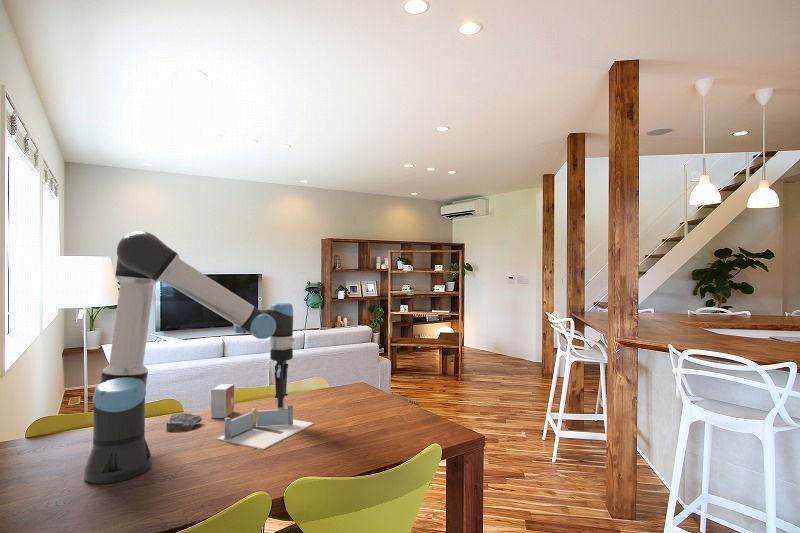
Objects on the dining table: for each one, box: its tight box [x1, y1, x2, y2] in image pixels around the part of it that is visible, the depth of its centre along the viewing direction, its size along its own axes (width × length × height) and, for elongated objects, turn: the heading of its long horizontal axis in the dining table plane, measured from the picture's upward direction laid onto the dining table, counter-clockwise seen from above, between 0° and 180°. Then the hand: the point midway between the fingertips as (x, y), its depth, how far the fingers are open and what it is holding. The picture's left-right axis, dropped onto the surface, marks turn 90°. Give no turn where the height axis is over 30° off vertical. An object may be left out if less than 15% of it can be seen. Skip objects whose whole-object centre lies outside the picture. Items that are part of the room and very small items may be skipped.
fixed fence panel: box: [224, 412, 252, 440], centre depth 143 cm, size 11×2×7 cm, turn 155°
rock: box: [166, 412, 203, 432], centre depth 151 cm, size 8×10×4 cm
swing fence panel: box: [251, 405, 294, 427], centre depth 151 cm, size 14×2×6 cm, turn 102°
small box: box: [210, 383, 235, 419], centre depth 164 cm, size 8×6×10 cm
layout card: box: [216, 418, 314, 451], centre depth 147 cm, size 25×19×1 cm
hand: (280, 415), depth 153 cm, fingers closed
